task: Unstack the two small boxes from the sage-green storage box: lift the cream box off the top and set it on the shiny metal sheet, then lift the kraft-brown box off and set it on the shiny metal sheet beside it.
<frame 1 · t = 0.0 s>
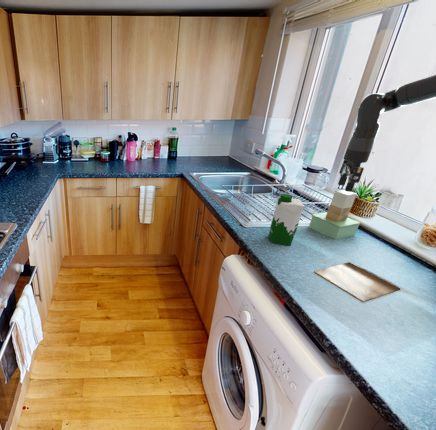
hand: (344, 188, 118), 21 cm above the worktop, tool pointing down, fingers open, 8 cm apart
cream box: (340, 205, 120), point 14 cm above the worktop, touching kraft box
kraft box: (335, 218, 123), point 8 cm above the worktop, touching cream box, storage box
shiny metal sheet: (355, 280, 96), on the worktop
milk carton: (279, 241, 121), on the worktop
storage box: (329, 234, 126), on the worktop
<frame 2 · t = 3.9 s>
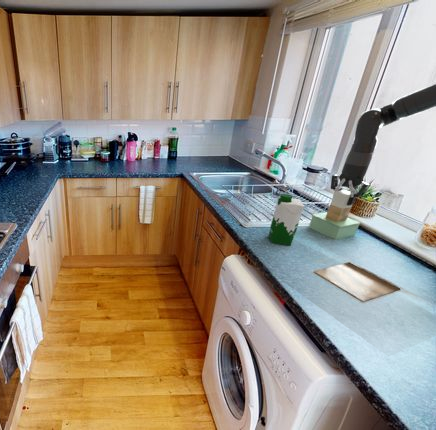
hand: (341, 202, 120), 15 cm above the worktop, tool pointing down, fingers closed on cream box, 5 cm apart
cream box: (340, 205, 120), point 14 cm above the worktop, touching gripper, kraft box
everything else where it was.
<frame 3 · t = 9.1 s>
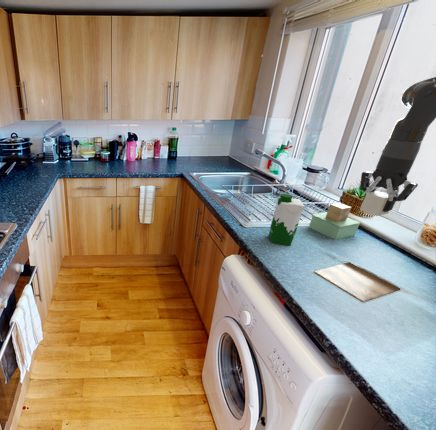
hand: (375, 207, 92), 24 cm above the worktop, tool pointing down, fingers closed on cream box, 5 cm apart
cream box: (373, 211, 92), point 23 cm above the worktop, touching gripper
kraft box: (335, 218, 123), point 8 cm above the worktop, touching storage box
everything else where it was.
when the fingers open (2 cm above the worktop, at t = 14.4 s): cream box stays where it is, resting on shiny metal sheet.
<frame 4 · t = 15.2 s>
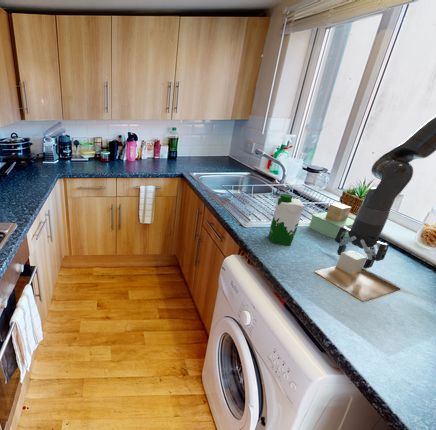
hand: (352, 261, 100), 4 cm above the worktop, tool pointing down, fingers open, 8 cm apart
cream box: (348, 269, 102), resting on shiny metal sheet
everything else where it was.
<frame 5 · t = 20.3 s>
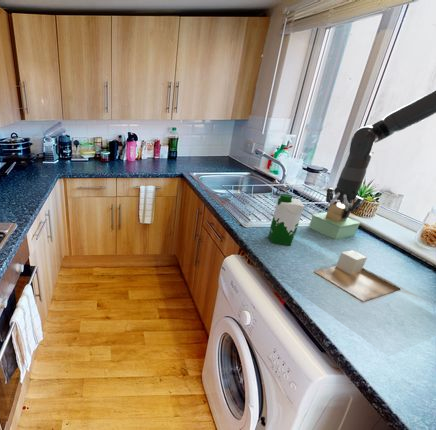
hand: (337, 215, 122), 9 cm above the worktop, tool pointing down, fingers closed on kraft box, 5 cm apart
kraft box: (335, 218, 123), point 8 cm above the worktop, touching gripper, storage box
everything else where it was.
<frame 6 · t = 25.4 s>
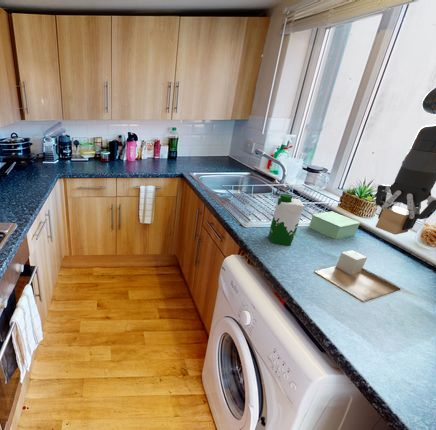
hand: (393, 225, 82), 23 cm above the worktop, tool pointing down, fingers closed on kraft box, 5 cm apart
kraft box: (391, 229, 83), point 22 cm above the worktop, touching gripper
everything else where it was.
when the fingers open (2 cm above the worktop, at t = 30.6 s): kraft box stays where it is, resting on shiny metal sheet.
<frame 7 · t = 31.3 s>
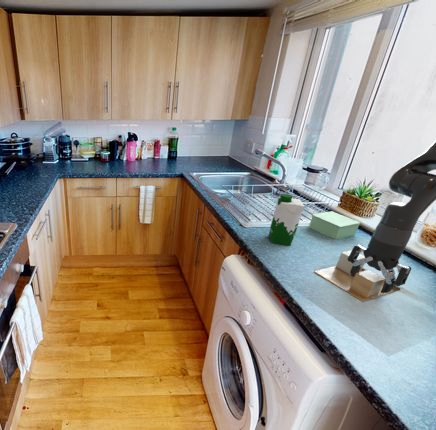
hand: (367, 283, 89), 3 cm above the worktop, tool pointing down, fingers open, 8 cm apart
kraft box: (363, 291, 91), resting on shiny metal sheet
everything else where it was.
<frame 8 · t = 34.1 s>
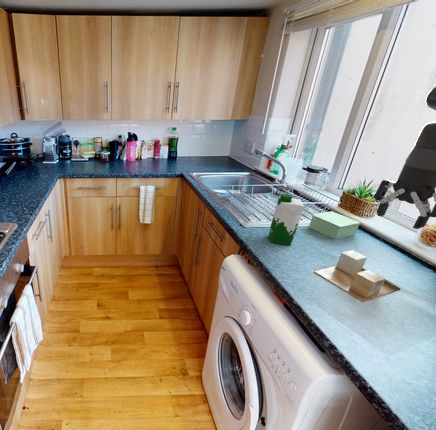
hand: (397, 221, 80), 25 cm above the worktop, tool pointing down, fingers open, 8 cm apart
nothing on the worktop moved.
at the end: cream box inside the target area on the shiny metal sheet (6.4 cm from its centre), point 0.4 cm above the shiny metal sheet's base; kraft box inside the target area on the shiny metal sheet (6.4 cm from its centre), point 0.4 cm above the shiny metal sheet's base; kraft box tilted 0° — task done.
